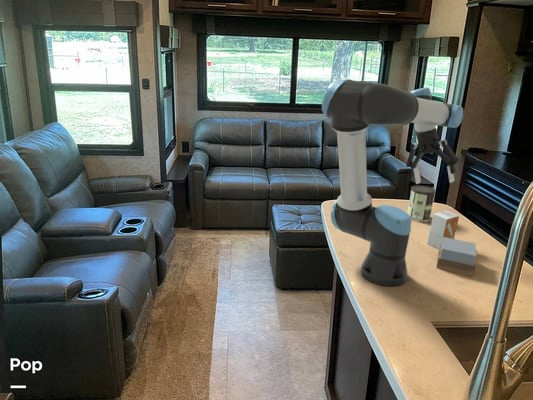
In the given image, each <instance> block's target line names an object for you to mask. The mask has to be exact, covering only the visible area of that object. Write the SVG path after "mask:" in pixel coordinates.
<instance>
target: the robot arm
mask: <svg viewBox="0 0 533 400" xmlns="http://www.w3.org/2000/svg"><path fill="white" fill-rule="evenodd" d="M321 111H322V113H323V115H324V116H325V117H326V118H328V119H330V120H331V129H332V130H333V131H335V133H336V136H337V137H336V139H337V151H338V152H337V154H338V167H339V169H338V170H339V185H340V195H338V196H337V199H336V200H334V202H333V204H332V206H331V208H332V209H331V210H330V219H331V220H330V221H331V224H332V225H333V227H334V228H335V229H336V230H339V231H341V232H342V233H345V234H348V235H351V236H354V237H357V238H359V239H362V240H365V241H367V242H369V244H370V245H369V250H368V253H367V254H366V256H365V258H364V259H363V262H362V264H361V266H360V267H361V268H360V272H361V275H362V277H364V279H366V280H367V281H369V282H370V283H373V284H376V285H379V286H384V287H399V286H402V285H404V284H405V283H406V282H407V278H408V268H407V261H406V254H407V248H408V245H409V244H408V243H409V239H410V234H411V229H412V228H411V227H412V226H411V225H412V220H411V218H410V216H409V215H408V214H407V212H406V211H405V210H403V209H401V208H400V207H397V206H394V205H388V204H382V205H381V204H380V205H378V206H377V207H376V206H373V199H372V196H371V195H370V194H369V193H368V184H367V181H368V178H367V177H368V176H367V175H368V173H367V144H366V143H367V141H366V139H367V138H366V136H367V135H366V134H367V133H366V131H367V130H368V128H369V127H370V126H380V127H381V126H382V127H383V126H405V125H406V126H407V125H409V124H411V123H413V124H414V130H415V131H416V133H415V136H416V140H417V143H416V142H412V143H411V144H410V145H409V146H410V147H409V148H410V149H409V150H410V151H409V154H408V157H407V160H406V161H407V162H406V164H405V166H406V167H407V168H411V173H412V176H414V178H415V184H416V185H418V184H420V183H421V182H422V180H421V179H422V178H421V174H420V169H419V166H418V164H419V162H420V160H421V159H422V157H423V156H424V155H428V154H435V155H437V156H438V157H440V159H442V161H444V162H445V163H446V164H447V166H446V168H447V169H446V170H447V173H448V182H449V184H452V183H453V182H455V175H454V174H455V173H456V166H455V165H456V164H458V163H459V162H460V160H459V157H458V156H457V155H456V153H455V152H454V151H453V149H452V148H451V147H450V145H449V143H448V142H449V141H448V140H447V139H443V140H439V135H438V129H437V128H436V126H441V127H446V128H454V129H456V128H458V127H459V126H460V124H461V123H462V121H463V117H464V108H463V107H462V106H461V105H459V104H454V103H453V104H452V103H451V104H450V103H444V102H441V101H440V102H439V101H436V100H433V96H432V93H431V90H430V88H429V87H421V88H417V89H414V90H410V92H409V91H406V90H403V89H400V88H398V87H394V86H391V85H389V84H386V83H385V84H384V83H380V82H379V83H378V82H369V81H368V82H367V81H362V80H361V81H360V80H352V79H337V80H334V81H333V82H332V83H330V84H329V85H328V87H327V88H326V90H325V92H324V94H323V97H322V102H321ZM440 147H442V148H440ZM417 148H418V149H419V151H418V153H417V154H416V151H417ZM443 150H444V151H445V152H444V151H443ZM415 155H416V156H415Z"/></svg>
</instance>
